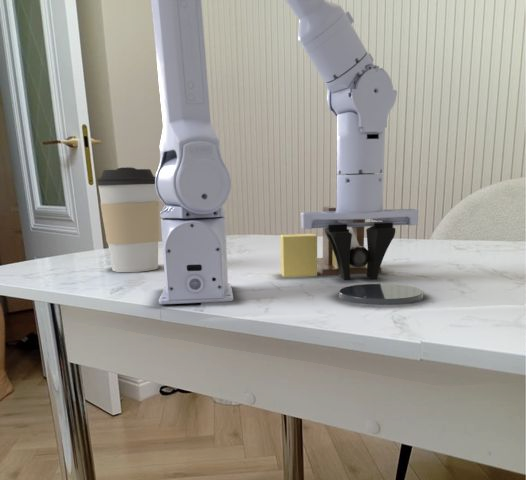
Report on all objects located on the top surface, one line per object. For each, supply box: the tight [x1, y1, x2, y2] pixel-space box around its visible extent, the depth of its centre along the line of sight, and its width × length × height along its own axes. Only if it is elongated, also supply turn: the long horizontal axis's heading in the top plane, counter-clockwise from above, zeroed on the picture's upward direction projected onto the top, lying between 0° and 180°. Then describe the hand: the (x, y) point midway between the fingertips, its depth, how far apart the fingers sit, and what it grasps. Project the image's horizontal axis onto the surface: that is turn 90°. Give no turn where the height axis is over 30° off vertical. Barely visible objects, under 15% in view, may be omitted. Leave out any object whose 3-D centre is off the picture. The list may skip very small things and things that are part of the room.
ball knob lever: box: [335, 207, 369, 268], centre depth 79 cm, size 13×3×3 cm, turn 5°
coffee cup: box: [96, 166, 160, 273], centre depth 89 cm, size 9×9×15 cm
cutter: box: [317, 206, 382, 277], centre depth 84 cm, size 12×8×9 cm, turn 5°
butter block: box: [332, 251, 366, 268], centre depth 81 cm, size 3×4×2 cm
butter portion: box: [280, 233, 318, 278], centre depth 79 cm, size 3×4×6 cm, turn 95°
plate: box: [338, 283, 424, 306], centre depth 64 cm, size 9×9×1 cm
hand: (358, 284), depth 76 cm, fingers open, 3 cm apart
